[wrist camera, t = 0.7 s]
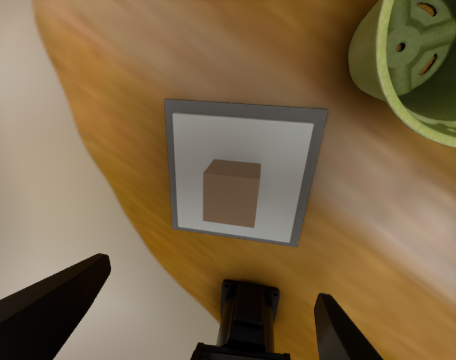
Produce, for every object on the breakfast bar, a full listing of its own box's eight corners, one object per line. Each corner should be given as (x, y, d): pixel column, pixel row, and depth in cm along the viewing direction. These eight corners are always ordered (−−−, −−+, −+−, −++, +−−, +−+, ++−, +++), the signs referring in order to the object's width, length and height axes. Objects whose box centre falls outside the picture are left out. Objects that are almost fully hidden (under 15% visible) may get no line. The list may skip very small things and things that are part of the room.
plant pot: (404, 143, 16) (532, 191, 8) (295, 87, 16) (323, 84, 8) (523, 2, 13) (964, -150, 5) (383, -73, 12) (595, -371, 4)
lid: (288, 237, 21) (293, 270, 17) (181, 222, 22) (163, 249, 18) (311, 122, 16) (325, 131, 13) (176, 112, 18) (151, 118, 14)
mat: (296, 244, 21) (297, 247, 21) (173, 226, 23) (172, 228, 23) (327, 109, 16) (328, 109, 16) (166, 99, 18) (164, 99, 18)
